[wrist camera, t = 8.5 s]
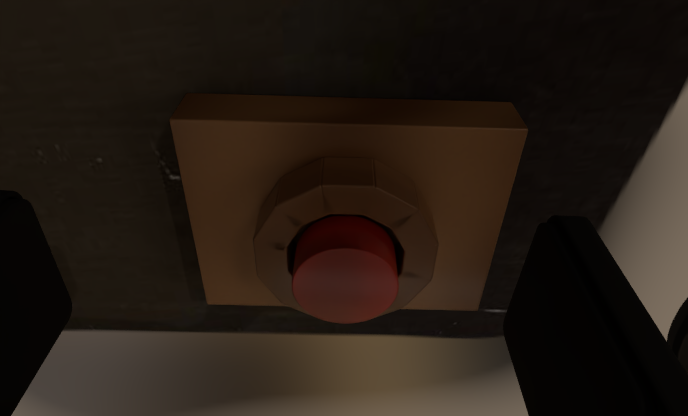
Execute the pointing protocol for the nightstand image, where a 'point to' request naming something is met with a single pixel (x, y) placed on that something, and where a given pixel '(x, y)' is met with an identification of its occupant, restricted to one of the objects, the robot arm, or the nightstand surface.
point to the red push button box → (346, 188)
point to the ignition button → (345, 270)
